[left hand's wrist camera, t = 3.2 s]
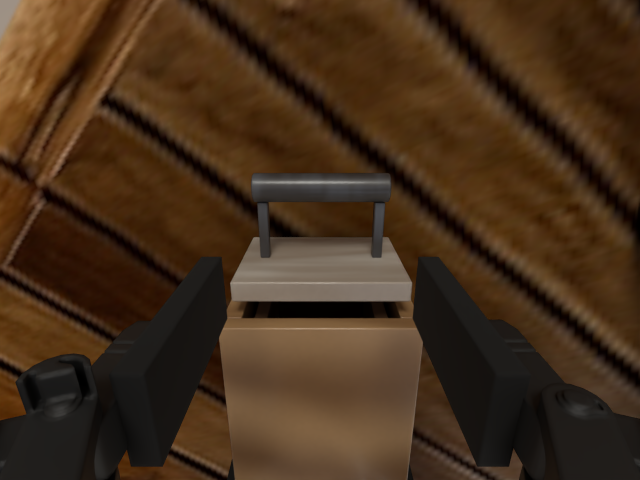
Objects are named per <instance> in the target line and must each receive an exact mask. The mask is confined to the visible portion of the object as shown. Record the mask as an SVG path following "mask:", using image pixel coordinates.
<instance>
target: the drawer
mask: <svg viewBox="0 0 640 480" xmlns="http://www.w3.org/2000/svg"><path fill="white" fill-rule="evenodd" d="M251 191H252V198H253V201H254V202H258V203H257V206H258V222H259V237H254V238H253V240H252V242H251V244H250V246H249V248H248V250H247V252H246V253H245V255H244V257H243V259H242V261H241V263H240V265H239V267H238V269H237V271H236V273H235V275H234V277H233V279H232V281H231V283H230V285H231V295H232V301H260V302H259V305H258V308H257V311H256V315H255V318H388V317H387V314H386V311H385V308H384V305H383V301H410V300H411V290H412V282H411V280H410V278H409V276H408V274H407V272H406V270H405V268H404V267H403V265H402V263H401V261H400V259H399V257H398V255H397V253H396V251H395V249H394V248H393V246H392V244H391V242H390V240H389V238H388V237H383V227H384V211H385V202H388V201H389V199H390V195H391V178H390V174H388V173H254V174H253V175H252V180H251ZM268 202H374V207H373V227H372V237H270V223H269V203H268Z"/></svg>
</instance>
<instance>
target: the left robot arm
mask: <svg viewBox="0 0 640 480" xmlns="http://www.w3.org/2000/svg"><path fill="white" fill-rule="evenodd" d="M226 321H227V308H226V298H225V288H224V278H223V268H222V258H221V257H201V258H200V260H199V261H198V262H197V264H196V265H195V266H194V267H193V269H192V270H191V271H190V272H189V274H188V275H187V276H186V277H185V279H184V280H183V281H182V283H181V284H180V285H179V286H178V288H177V289H176V290H175V291H174V293H173V294H172V295H171V296H170V298H169V299H168V300H167V301H166V303H165V304H164V305H163V307H162V308H161V309H160V310H159V312H158V313H157V314H156V315H155V317H154V318H153V319H152V320H151V321H137V322H136V323H134V324H132V325H131V326H129V327H128V328H126V329H125V330H123V331H122V332H121V333H120V334H119V336H118V337H117V338H116V339H115V340H114V341H113V344H111V345H110V346H109V347H108V348H107V349H106V350H105V353H103V354H102V355H101V356H100V357H99V358H98V359H97V360H96V362H95V363H94V364H93V365H92V366H91V363H90V359H89V358H87V357H86V356H84V355H80V354H66V355H60V356H56V357H53V358H49V359H47V360H44V361H42V362H40V363H38V364H36V365H34V366H32V367H31V368H30V369H28V370H27V371H25V372H24V373H23V374H22V375H21V376H20V377H19V378H18V380H17V381H16V385H17V388H18V391H19V394H20V396H21V399H22V402H23V405H24V408H25V411H26V413H27V414H26V415H23V416H18V417H14V418H9V419H5V420H1V421H0V480H120V475H119V470H118V464H119V462H120V461H121V459H122V457H123V455H124V453H125V452H126V450H127V452H128V456H129V460H130V464H131V467H163V464H164V462H165V460H166V458H167V455H168V453H169V451H170V448H171V446H172V444H173V442H174V439H175V437H176V435H177V432H178V430H179V428H180V426H181V423H182V421H183V419H184V416H185V414H186V412H187V410H188V407H189V405H190V403H191V401H192V398H193V396H194V394H195V391H196V389H197V387H198V385H199V382H200V380H201V378H202V375H203V373H204V371H205V369H206V366H207V364H208V362H209V359H210V357H211V355H212V353H213V350H214V348H215V346H216V343H217V341H218V339H219V337H220V334H221V332H222V330H223V327H224V325H225V323H226ZM413 321H414V323H415V325H416V328H417V330H418V332H419V334H420V337H421V339H422V341H423V343H424V346H425V348H426V350H427V353H428V355H429V357H430V359H431V362H432V364H433V366H434V369H435V371H436V373H437V375H438V378H439V380H440V382H441V385H442V387H443V389H444V391H445V394H446V396H447V398H448V401H449V403H450V405H451V407H452V410H453V412H454V414H455V417H456V419H457V421H458V423H459V426H460V428H461V430H462V432H463V435H464V437H465V439H466V442H467V444H468V446H469V448H470V451H471V453H472V455H473V458H474V460H475V462H476V464H477V467H509V464H510V460H511V456H512V451H513V448H514V450H515V452H516V453H517V455H518V457H519V459H520V460H521V462H522V464H523V466H522V470H521V474H520V477H519V480H640V419H638V418H633V417H629V416H625V415H620V414H616V413H613V412H612V410H611V409H610V408H609V406H608V405H607V404H606V403H605V402H604V401H603V400H601V399H600V398H599V397H598V396H596V395H595V394H593V393H591V392H589V391H587V390H585V389H583V388H580V387H577V386H574V385H571V384H566V383H565V382H564V381H563V380H562V379H561V378H560V377H559V376H558V375H557V373H556V372H555V371H554V370H553V369H552V368H551V367H550V366H549V364H548V363H547V362H546V361H545V360H544V359H543V358H542V357H541V355H540V354H539V353H538V352H536V350H535V349H534V348H533V346H532V345H531V344H530V343H528V342H527V340H526V339H525V337H524V336H523V335H522V334H521V333H520V332H519V331H518V330H517V329H516V328H514V327H513V326H511V325H510V324H508V323H506V322H505V321H503V320H488V319H487V318H486V317H485V315H484V314H483V313H482V312H481V310H480V309H479V308H478V307H477V305H476V304H475V303H474V301H473V300H472V299H471V298H470V296H469V295H468V294H467V293H466V291H465V290H464V289H463V288H462V286H461V285H460V284H459V283H458V281H457V280H456V279H455V277H454V276H453V275H452V274H451V272H450V271H449V270H448V269H447V267H446V266H445V265H444V264H443V262H442V261H441V260H440V258H439V257H419V258H418V268H417V278H416V288H415V298H414V308H413Z"/></svg>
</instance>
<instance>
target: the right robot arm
mask: <svg viewBox="0 0 640 480" xmlns="http://www.w3.org/2000/svg"><path fill="white" fill-rule="evenodd" d="M227 480H235V476H234V467H233V459H232V462H231V466H230V470H229V474H228V478H227ZM407 480H413V477H412V473H411V469H410V465H409V468H408V477H407Z"/></svg>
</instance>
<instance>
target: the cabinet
mask: <svg viewBox="0 0 640 480" xmlns="http://www.w3.org/2000/svg"><path fill="white" fill-rule="evenodd" d="M259 302H260V301H232V300H231V302H230V304H229V306H228V308H227V321H226V323H225V325H224V327H223V330H222V332H221V334H220V337H219V341H220V350H221V359H222V368H223V377H224V386H225V395H226V404H227V413H228V422H229V431H230V440H231V449H232V458H233V467H234V476H235V480H407V477H408V468H409V459H410V451H411V442H412V433H413V425H414V416H415V407H416V398H417V390H418V381H419V372H420V363H421V355H422V346H423V341H422V339H421V337H420V334H419V332H418V330H417V328H416V325H415V323H414V321H413V308H414V305H413V303H412V301H411V300H410V301H383V305H384V308H385V311H386V314H387V317H388V318H255V315H256V311H257V308H258V305H259Z"/></svg>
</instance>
